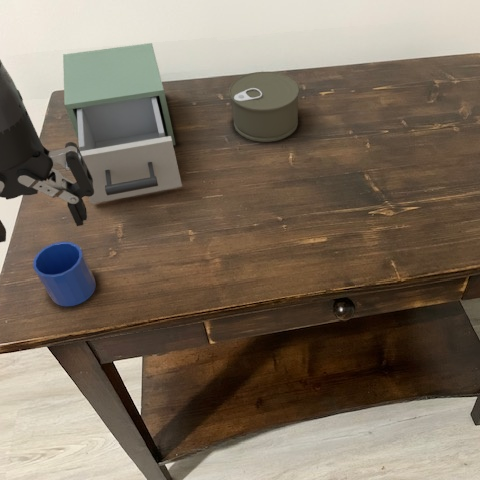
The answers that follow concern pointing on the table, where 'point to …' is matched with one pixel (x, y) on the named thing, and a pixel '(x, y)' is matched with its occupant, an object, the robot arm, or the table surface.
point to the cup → (65, 273)
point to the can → (265, 106)
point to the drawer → (126, 149)
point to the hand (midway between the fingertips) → (42, 228)
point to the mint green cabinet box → (113, 80)
